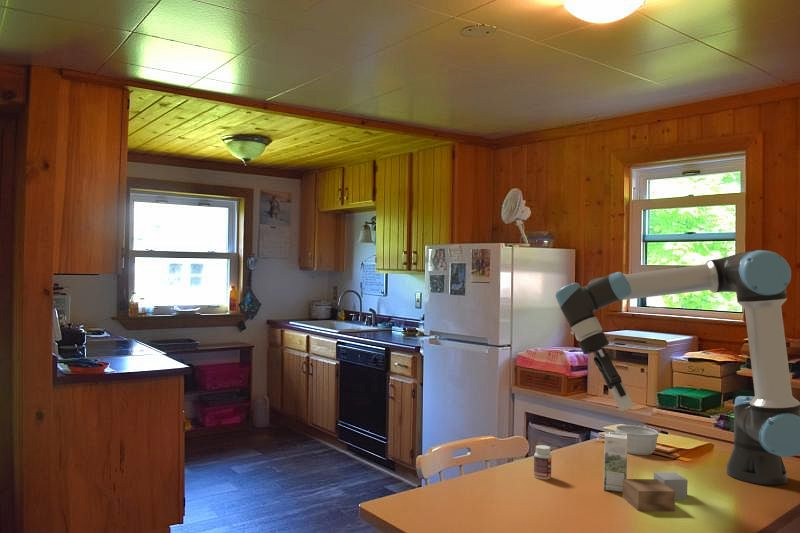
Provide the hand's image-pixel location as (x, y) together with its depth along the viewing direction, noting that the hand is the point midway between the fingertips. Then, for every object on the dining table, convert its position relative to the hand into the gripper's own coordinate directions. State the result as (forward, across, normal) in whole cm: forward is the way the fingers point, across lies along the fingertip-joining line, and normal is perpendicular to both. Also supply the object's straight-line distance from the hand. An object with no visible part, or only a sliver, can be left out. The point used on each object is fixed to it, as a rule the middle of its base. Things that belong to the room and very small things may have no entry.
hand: (627, 409), depth 166 cm
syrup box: (+17, -4, -12) cm, 22 cm away
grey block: (+24, -4, 0) cm, 24 cm away
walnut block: (+22, +5, -7) cm, 24 cm away
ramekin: (+13, -46, 0) cm, 48 cm away
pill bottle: (+8, -7, -29) cm, 31 cm away
